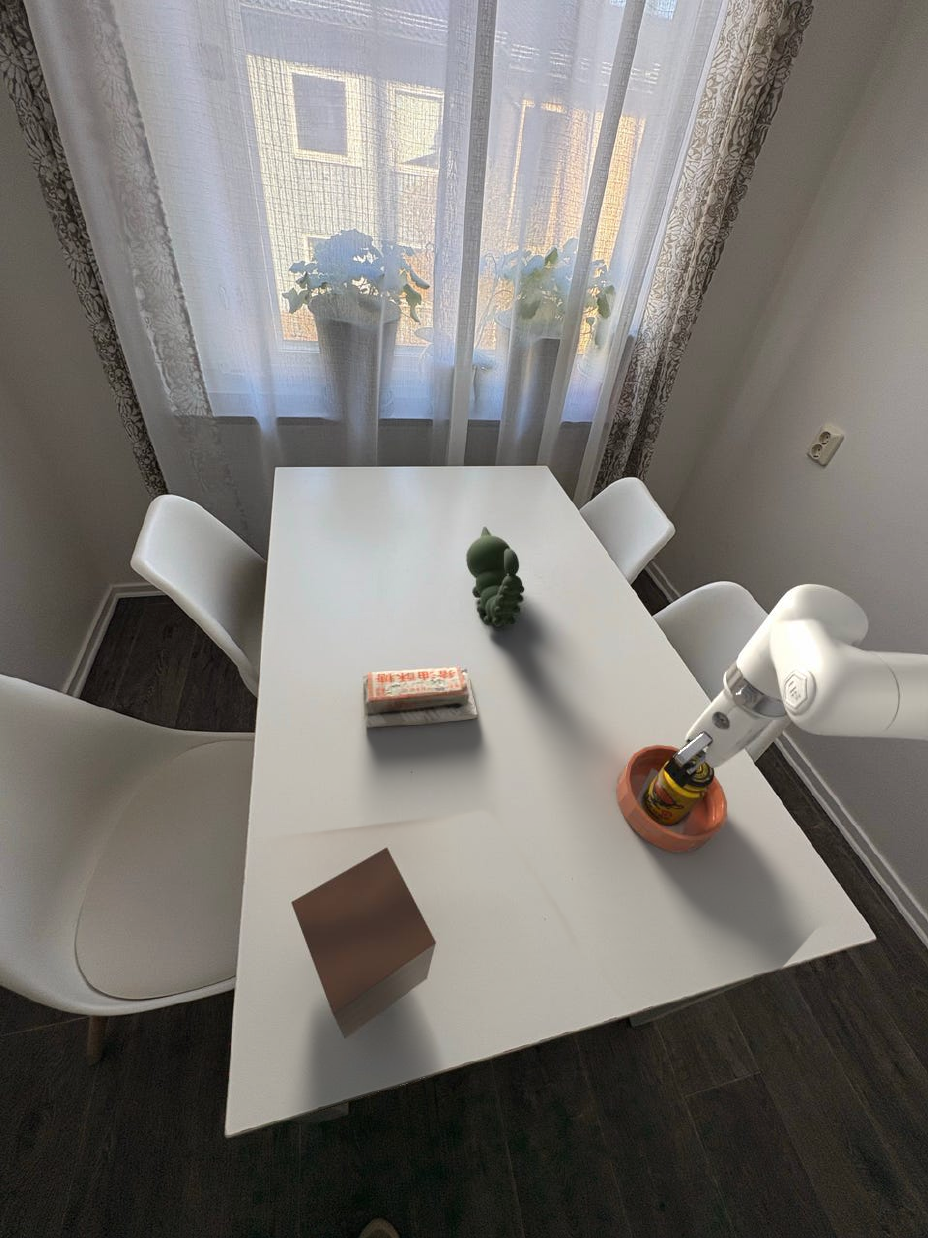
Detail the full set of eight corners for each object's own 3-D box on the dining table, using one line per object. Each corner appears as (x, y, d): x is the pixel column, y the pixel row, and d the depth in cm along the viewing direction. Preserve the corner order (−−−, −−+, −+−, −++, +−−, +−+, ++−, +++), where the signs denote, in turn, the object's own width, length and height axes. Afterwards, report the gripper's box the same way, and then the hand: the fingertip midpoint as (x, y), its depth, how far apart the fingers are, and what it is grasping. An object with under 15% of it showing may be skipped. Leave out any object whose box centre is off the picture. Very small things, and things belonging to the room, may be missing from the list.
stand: (427, 978, 58) (436, 942, 47) (344, 1039, 54) (333, 1015, 43) (387, 896, 64) (386, 846, 53) (309, 945, 59) (290, 902, 48)
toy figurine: (522, 645, 99) (499, 555, 114) (546, 576, 84) (516, 484, 100) (475, 647, 97) (458, 556, 113) (490, 577, 83) (468, 484, 98)
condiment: (631, 809, 75) (662, 769, 67) (651, 768, 80) (682, 726, 72) (679, 840, 73) (717, 802, 64) (696, 795, 78) (734, 755, 69)
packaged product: (364, 712, 77) (361, 662, 84) (365, 730, 80) (363, 680, 87) (480, 703, 80) (469, 655, 87) (477, 720, 84) (466, 673, 90)
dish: (732, 820, 76) (747, 807, 73) (668, 873, 70) (682, 860, 66) (659, 745, 84) (670, 730, 81) (596, 786, 77) (605, 772, 74)
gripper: (746, 744, 50) (676, 817, 63) (836, 678, 58) (758, 754, 70) (686, 689, 55) (632, 767, 67) (778, 634, 62) (714, 713, 74)
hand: (697, 760), depth 68 cm, fingers open, 9 cm apart
